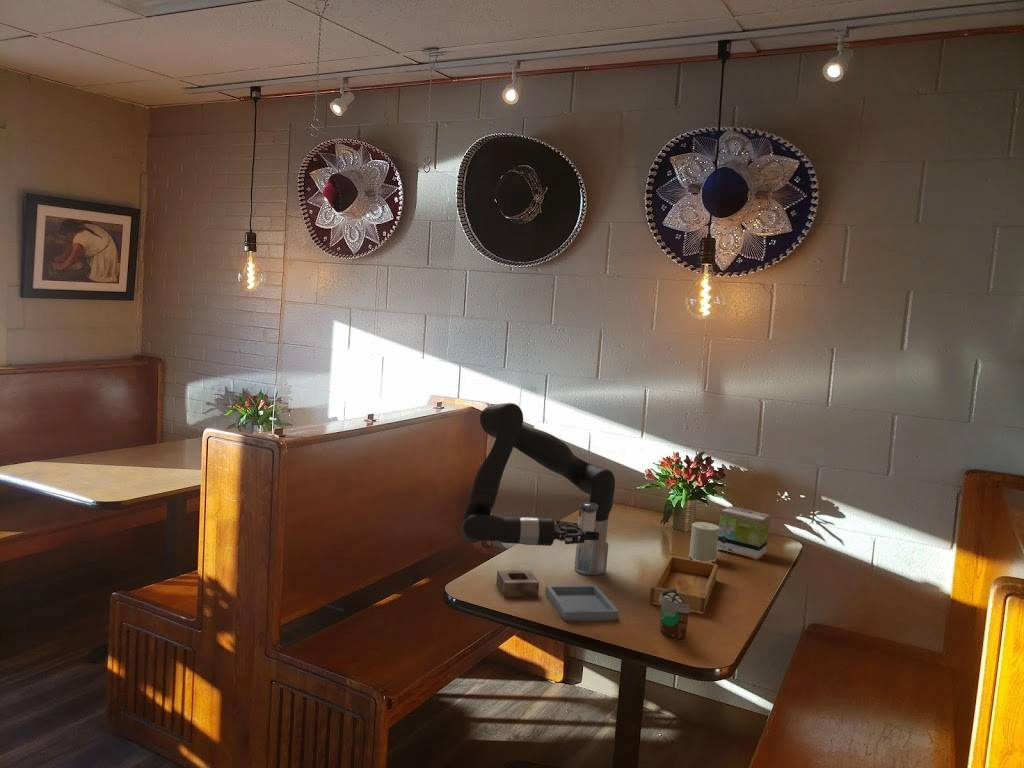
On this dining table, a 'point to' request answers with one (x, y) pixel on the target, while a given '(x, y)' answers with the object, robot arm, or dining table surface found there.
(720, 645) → the dining table surface
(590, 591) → the pin tray
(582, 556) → the steel pin
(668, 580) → the tray
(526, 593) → the socket block
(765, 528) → the tea box
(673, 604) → the food container
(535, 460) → the robot arm
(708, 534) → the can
